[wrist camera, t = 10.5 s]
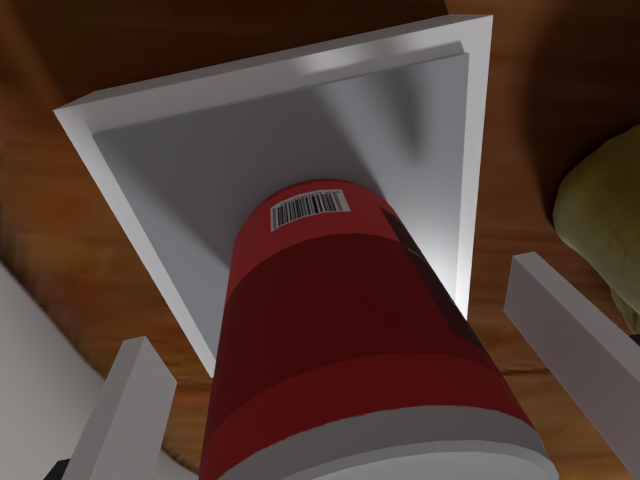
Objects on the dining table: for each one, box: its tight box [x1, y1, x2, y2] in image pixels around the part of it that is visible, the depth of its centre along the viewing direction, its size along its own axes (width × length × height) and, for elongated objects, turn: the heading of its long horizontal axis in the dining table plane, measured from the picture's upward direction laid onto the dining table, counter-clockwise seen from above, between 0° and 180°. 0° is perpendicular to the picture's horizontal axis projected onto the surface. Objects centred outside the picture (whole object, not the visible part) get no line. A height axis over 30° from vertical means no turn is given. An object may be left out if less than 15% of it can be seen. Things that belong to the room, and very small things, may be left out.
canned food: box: [199, 179, 559, 480], centre depth 12 cm, size 8×8×11 cm
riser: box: [53, 14, 493, 378], centre depth 18 cm, size 16×16×4 cm
